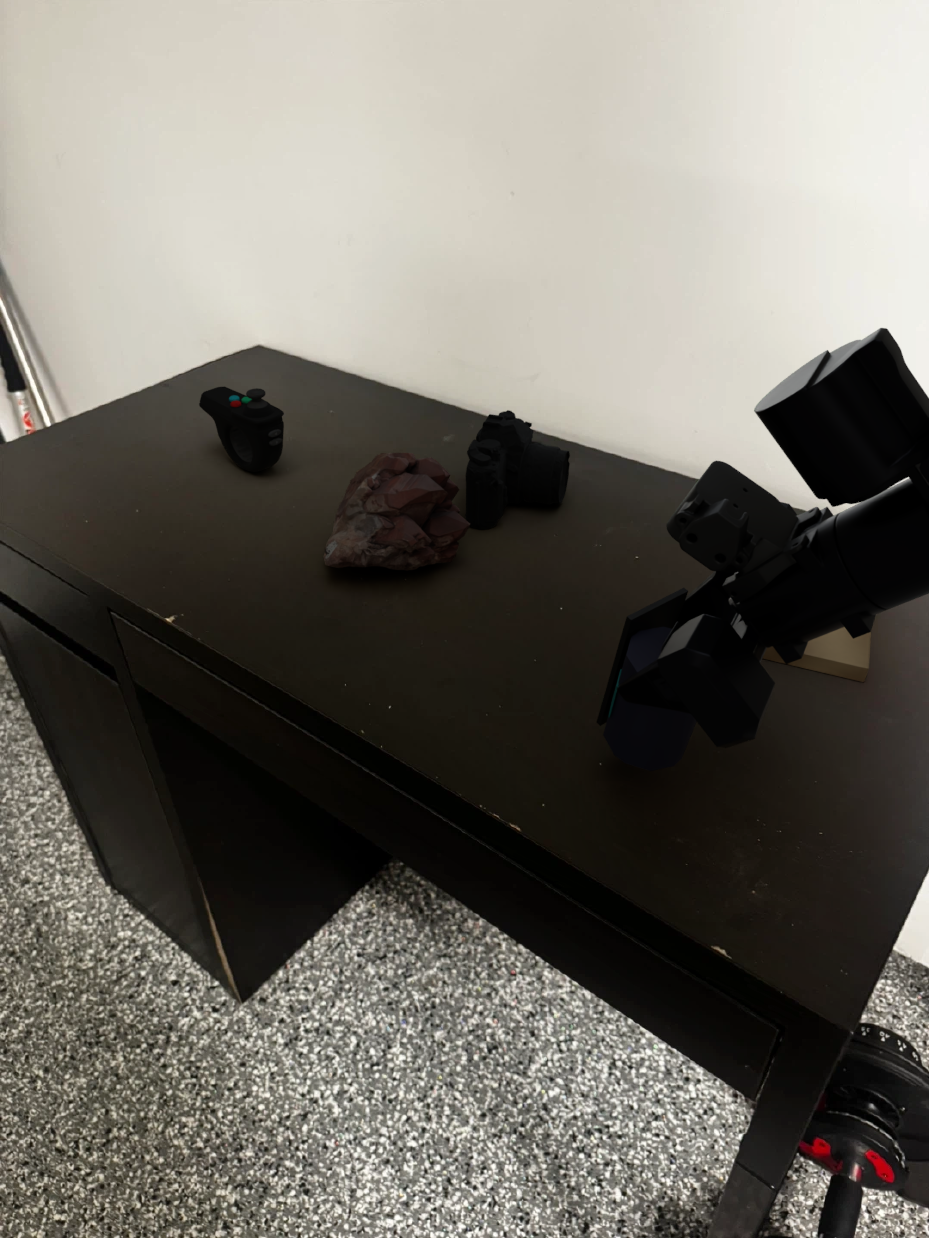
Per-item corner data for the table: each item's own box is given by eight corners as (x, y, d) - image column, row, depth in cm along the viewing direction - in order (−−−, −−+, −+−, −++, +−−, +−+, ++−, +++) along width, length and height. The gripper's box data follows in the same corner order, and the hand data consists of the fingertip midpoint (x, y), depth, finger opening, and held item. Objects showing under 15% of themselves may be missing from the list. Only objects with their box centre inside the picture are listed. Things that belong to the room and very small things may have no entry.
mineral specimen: (361, 571, 95) (494, 546, 90) (308, 600, 83) (457, 573, 78) (334, 464, 92) (468, 432, 87) (274, 478, 80) (426, 442, 75)
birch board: (872, 550, 89) (877, 537, 89) (863, 682, 73) (869, 668, 72) (751, 526, 93) (754, 514, 92) (716, 648, 77) (720, 634, 76)
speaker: (577, 705, 64) (602, 594, 57) (650, 692, 65) (682, 583, 58) (620, 787, 58) (653, 676, 52) (698, 772, 60) (740, 661, 53)
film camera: (546, 542, 90) (551, 462, 85) (455, 527, 93) (455, 449, 87) (575, 475, 102) (581, 401, 97) (494, 464, 104) (496, 391, 99)
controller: (267, 488, 99) (254, 404, 93) (204, 455, 106) (188, 374, 100) (297, 475, 102) (287, 392, 96) (233, 443, 109) (220, 364, 103)
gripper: (815, 378, 52) (621, 500, 63) (728, 518, 39) (502, 641, 50) (919, 526, 54) (712, 620, 65) (869, 708, 41) (619, 787, 52)
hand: (643, 658), depth 58 cm, fingers closed on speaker, 7 cm apart
